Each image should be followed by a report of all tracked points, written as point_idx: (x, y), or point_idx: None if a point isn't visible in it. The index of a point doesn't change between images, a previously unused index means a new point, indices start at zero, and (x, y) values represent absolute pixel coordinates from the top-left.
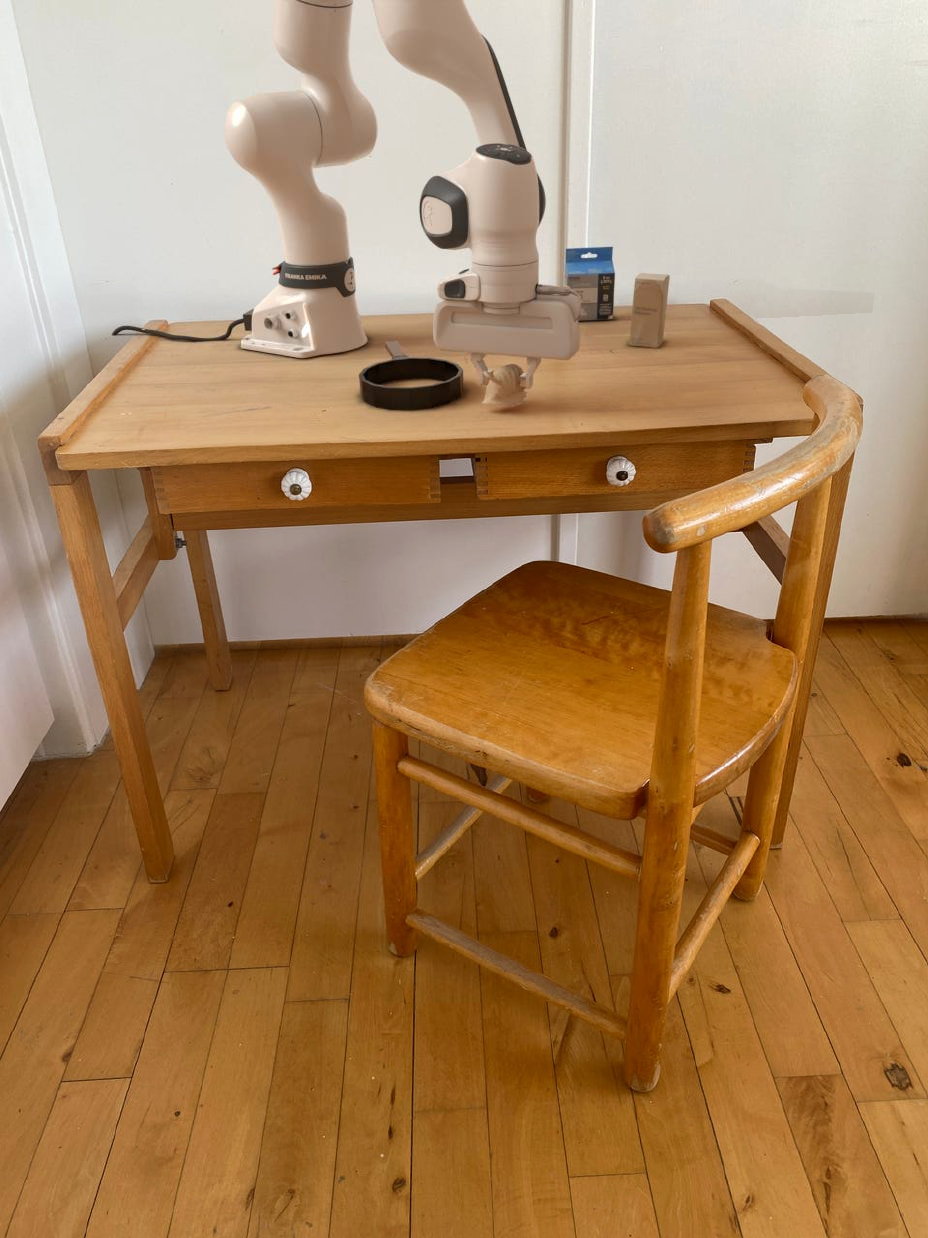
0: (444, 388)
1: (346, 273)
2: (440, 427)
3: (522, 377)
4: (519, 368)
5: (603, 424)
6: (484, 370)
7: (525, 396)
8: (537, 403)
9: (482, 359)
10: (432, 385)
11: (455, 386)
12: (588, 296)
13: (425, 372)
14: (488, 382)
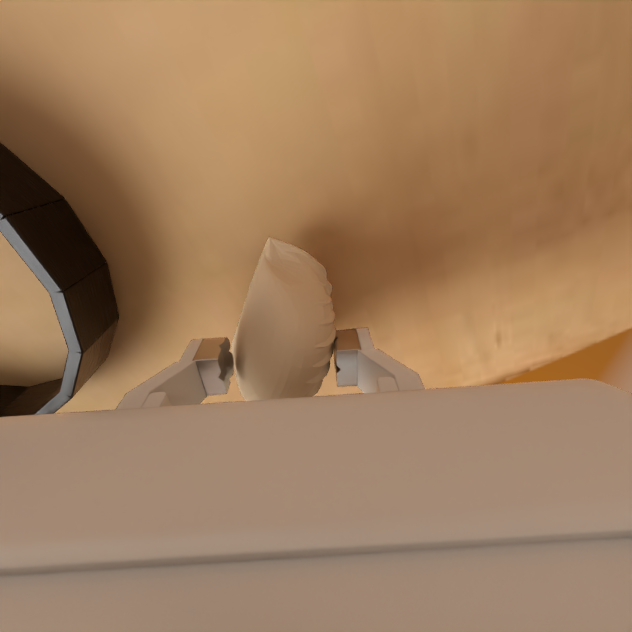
0: (90, 355)
1: None
2: None
3: (348, 384)
4: (320, 358)
5: (552, 324)
6: (199, 387)
7: (331, 291)
8: (351, 234)
9: (162, 390)
10: (70, 393)
11: (89, 306)
12: None
13: None
14: (231, 374)
